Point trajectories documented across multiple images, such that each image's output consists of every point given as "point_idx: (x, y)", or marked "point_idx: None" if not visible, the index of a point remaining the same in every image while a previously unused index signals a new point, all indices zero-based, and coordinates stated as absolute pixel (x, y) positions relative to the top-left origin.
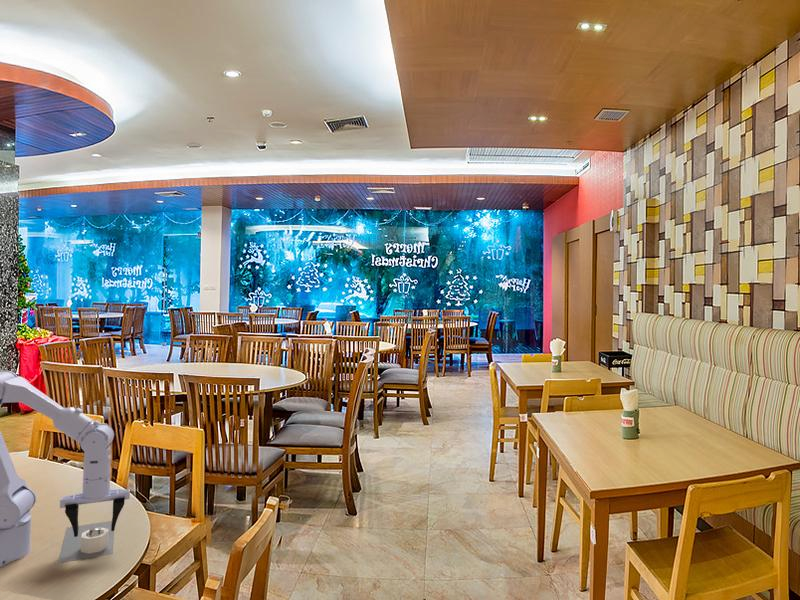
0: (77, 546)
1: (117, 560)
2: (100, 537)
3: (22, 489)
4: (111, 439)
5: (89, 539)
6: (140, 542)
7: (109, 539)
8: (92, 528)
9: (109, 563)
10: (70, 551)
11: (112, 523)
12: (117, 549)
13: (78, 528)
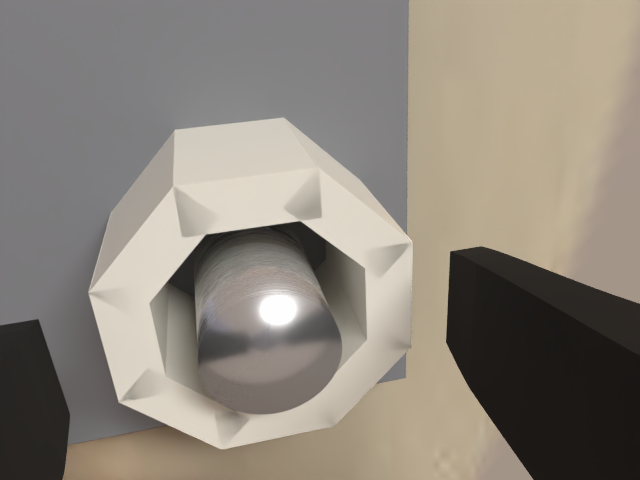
0: (55, 176)
1: (419, 365)
2: (336, 416)
3: None
4: None
5: (228, 439)
6: (598, 106)
7: (367, 89)
8: (232, 336)
9: (370, 395)
10: (20, 276)
11: (508, 433)
12: (419, 192)
13: (17, 338)
